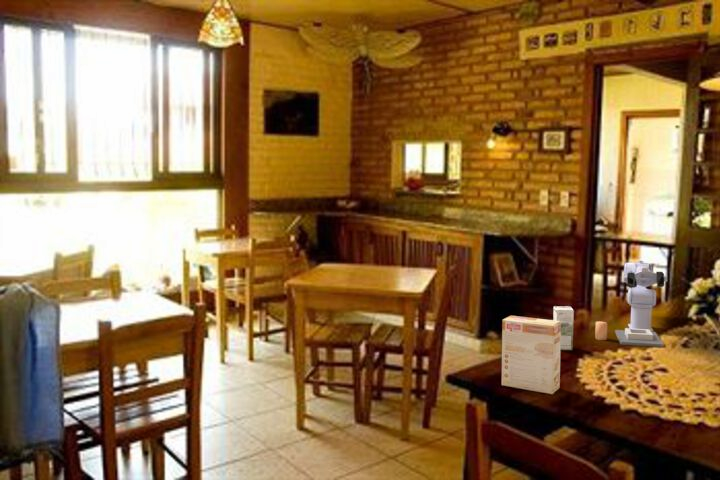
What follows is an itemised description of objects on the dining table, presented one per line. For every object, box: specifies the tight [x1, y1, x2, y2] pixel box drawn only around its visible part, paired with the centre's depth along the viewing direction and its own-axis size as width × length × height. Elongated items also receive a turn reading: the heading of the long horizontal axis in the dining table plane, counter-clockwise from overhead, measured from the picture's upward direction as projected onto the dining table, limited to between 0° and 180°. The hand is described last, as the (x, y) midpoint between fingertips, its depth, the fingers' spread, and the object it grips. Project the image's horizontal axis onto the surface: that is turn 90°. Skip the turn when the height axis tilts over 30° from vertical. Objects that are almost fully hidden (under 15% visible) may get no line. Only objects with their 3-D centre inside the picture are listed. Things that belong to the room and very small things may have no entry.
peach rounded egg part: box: [594, 320, 608, 341], centre depth 235 cm, size 4×4×6 cm
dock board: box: [614, 327, 665, 348], centre depth 233 cm, size 18×14×3 cm
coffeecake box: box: [501, 315, 561, 395], centre depth 182 cm, size 15×7×20 cm, turn 57°
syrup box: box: [552, 305, 575, 351], centre depth 222 cm, size 6×6×14 cm
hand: (647, 283), depth 228 cm, fingers open, 7 cm apart
